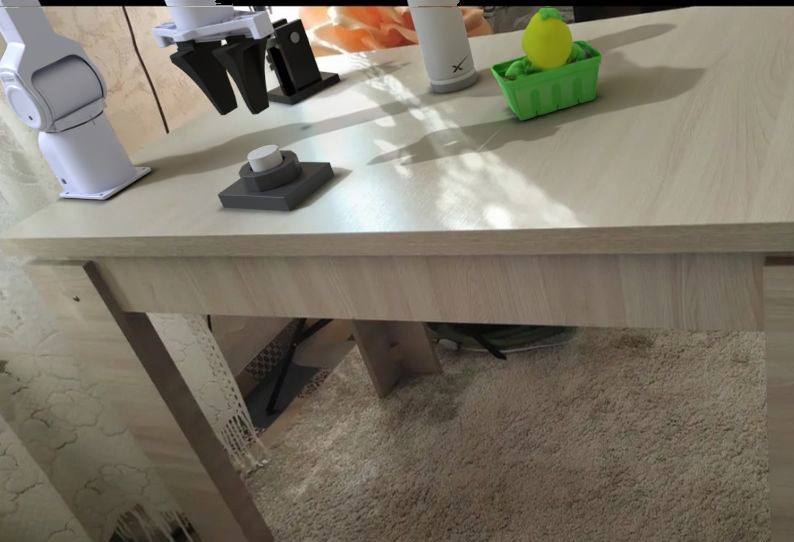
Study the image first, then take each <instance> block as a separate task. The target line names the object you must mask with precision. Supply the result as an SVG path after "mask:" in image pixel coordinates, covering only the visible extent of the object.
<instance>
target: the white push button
mask: <svg viewBox="0 0 794 542" xmlns="http://www.w3.org/2000/svg"><path fill="white" fill-rule="evenodd" d="M246 158H247V160H248V162H250V165H251V167H252V169H253V171H254V172H261V171H265V170H269V169H271V168H274V167H276V166H278V165H279V164H281V163H282V162H283V158H282V156H281V153H280V148H279V146H278V145H276V144H268V145H267V144H266V145H263V146H260V147H258V148H255V149H253V150H252V151H250V152H249V153H248V154H247V157H246Z"/></svg>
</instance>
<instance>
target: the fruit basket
mask: <svg viewBox="0 0 794 542" xmlns="http://www.w3.org/2000/svg"><path fill="white" fill-rule="evenodd" d="M545 7H550V6H545ZM537 11H538V12H536V13H535V14H534V15H533V16H532V17H531V19H530V20H529V23H528V24H527V26H526V28H525V30H524V31H523V34H522V39H521V48H522V50H523V51H524V54H525V55H522V56H519V57H516V58H511V59H509V60H505V61H502V62H498V63H495V64H493V65H491V66H490V71H491V73H492V75H493V77H494V78H495V79H496V81H497V83H498V85H499V87H500V90H501V92H502V93H503V96H504V99H505V100H506V102H507V104H508V106H509V108H510V110H512V112H513V113H514V115H516V117H517V118H518V119H519V120H520V121H526V120H529V119H533V118H535V117H537V116H542V115H546V114H549V113H554V112H556V111H558V110H563V109H567V108H571V107H573V106H576V105H578V104H584V103H588V102H590V101H593V100H595V99H596V96H597V95H596V94H597V86H598V80H599V72H600V71H599V70H600V64H601V63H602V58H603V53H602V52H600V51H599V50H598V49H597V48H595V46H593V45H592V44H590V43H588V42H587V41H585V40H573V34H572V32H571V29H570V27H569V26H568V24H567V23H566V22H565V21H563V20H564V17H563V16H562V15H561V12H560V11H559V10H558V8H556V7H553V8H543V7H541V8H540V9H539V10H537Z"/></svg>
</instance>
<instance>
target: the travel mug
mask: <svg viewBox="0 0 794 542" xmlns="http://www.w3.org/2000/svg"><path fill="white" fill-rule="evenodd" d="M459 2H460V0H407V4H408V7H418V6H457V4H458V3H459ZM409 12H410V16H411V19H412V23H413V27H414V30H415V34H416V37H417V41H418V45H419V48H420V52H421V55H422V59H423V61H424V62H423V63H424V67H425V71H426V74H427V77H428V81H429V84H430V89H431V90H432V91H433V92H435V93H439V94H448V93H454V92H457V91H461V90H463V89H466V88H468V87H470V86H472V85H473V84H475V82H476V81H477V78H478V75H477V70H476V67H475V61H474V57H473V54H472V53H473V52H472V49H471V45H470V41H469V37H468V33H467V28H466V24H465V19H464V16H463V11H462V8H445V7H433V8H409Z"/></svg>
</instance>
